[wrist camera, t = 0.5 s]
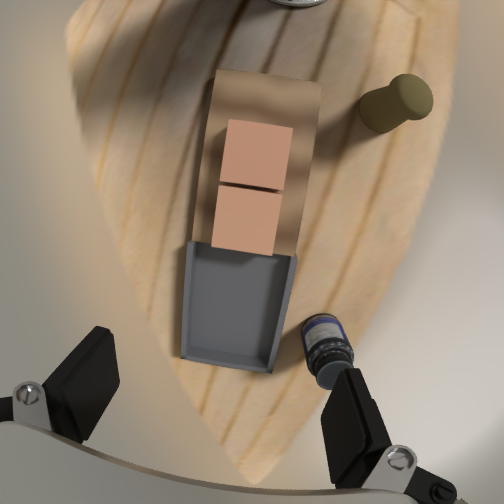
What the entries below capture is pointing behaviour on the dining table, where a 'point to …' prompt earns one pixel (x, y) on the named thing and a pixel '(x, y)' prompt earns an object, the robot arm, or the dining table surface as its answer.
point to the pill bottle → (326, 349)
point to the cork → (396, 103)
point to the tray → (234, 306)
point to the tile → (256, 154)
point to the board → (268, 112)
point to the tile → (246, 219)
